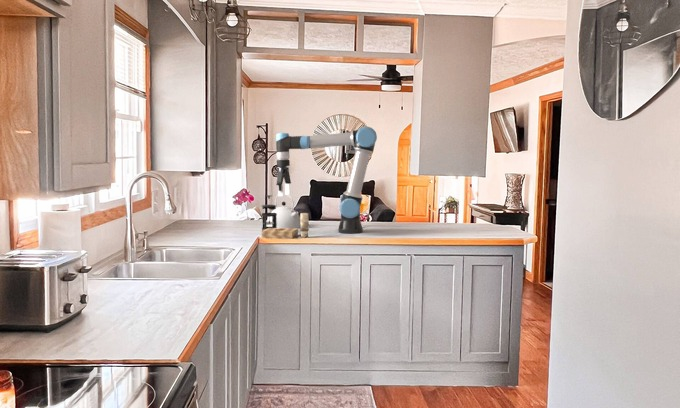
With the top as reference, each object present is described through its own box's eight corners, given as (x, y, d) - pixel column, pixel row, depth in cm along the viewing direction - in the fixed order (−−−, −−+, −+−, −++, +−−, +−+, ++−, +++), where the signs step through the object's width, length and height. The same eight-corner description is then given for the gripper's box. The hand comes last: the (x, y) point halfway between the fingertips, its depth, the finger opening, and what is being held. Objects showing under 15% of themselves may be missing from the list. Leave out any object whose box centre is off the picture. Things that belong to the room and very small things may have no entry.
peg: (309, 236, 326) (309, 212, 325) (307, 238, 321) (307, 213, 320) (301, 236, 327) (301, 212, 326) (299, 237, 322) (299, 213, 321)
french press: (270, 234, 332) (270, 196, 330) (257, 233, 337) (257, 195, 334) (281, 232, 343) (281, 194, 340) (269, 231, 347) (268, 194, 345)
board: (298, 235, 333) (297, 228, 333) (292, 238, 319) (291, 231, 319) (268, 234, 336) (268, 227, 336) (261, 238, 322) (261, 231, 322)
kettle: (311, 227, 365) (310, 193, 363) (284, 231, 349) (284, 195, 347) (285, 224, 382) (285, 191, 380) (259, 227, 366) (258, 193, 364)
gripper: (283, 159, 341) (284, 193, 343) (270, 160, 317) (271, 197, 319) (295, 158, 340) (296, 193, 342) (282, 159, 315) (284, 197, 317)
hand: (284, 195), depth 330 cm, fingers open, 13 cm apart
